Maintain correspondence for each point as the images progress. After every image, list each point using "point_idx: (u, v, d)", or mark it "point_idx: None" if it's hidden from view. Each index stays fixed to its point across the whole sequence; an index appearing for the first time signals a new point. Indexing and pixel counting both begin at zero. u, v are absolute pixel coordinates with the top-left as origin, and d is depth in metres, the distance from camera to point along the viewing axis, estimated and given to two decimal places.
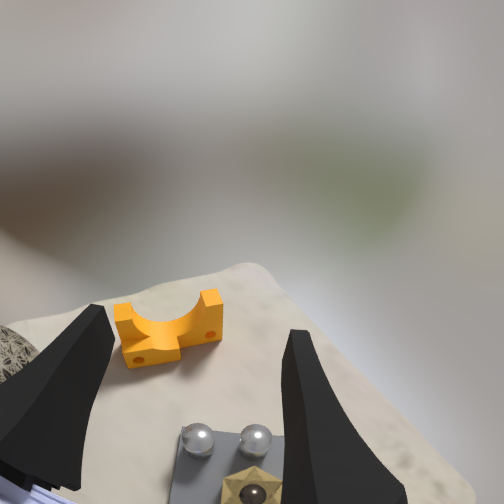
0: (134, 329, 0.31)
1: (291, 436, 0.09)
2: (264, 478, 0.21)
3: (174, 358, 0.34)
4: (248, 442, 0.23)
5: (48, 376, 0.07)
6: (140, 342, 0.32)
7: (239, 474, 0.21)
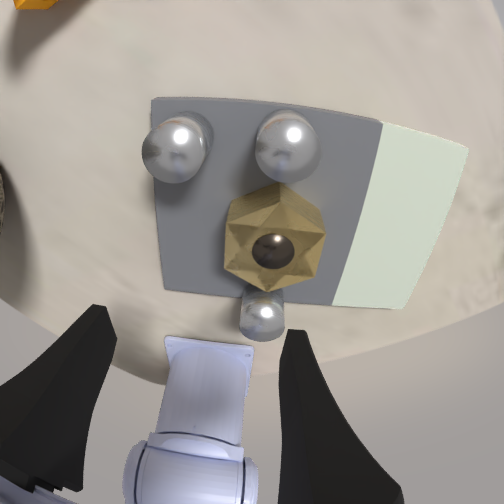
0: None
1: (288, 436, 0.09)
2: (295, 225, 0.15)
3: None
4: (271, 162, 0.13)
5: (50, 376, 0.07)
6: None
7: (253, 216, 0.15)
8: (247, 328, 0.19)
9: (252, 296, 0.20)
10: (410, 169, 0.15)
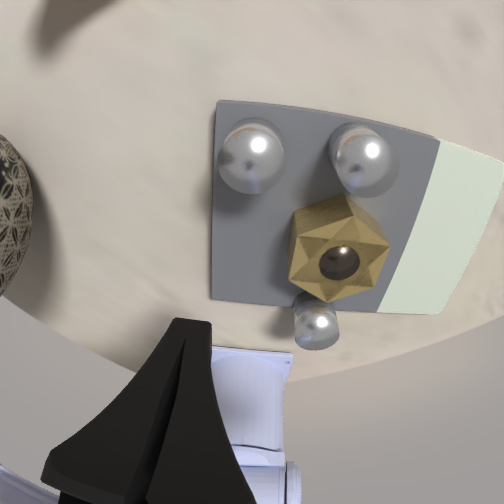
0: None
1: None
2: (364, 238, 0.15)
3: None
4: (353, 177, 0.12)
5: (152, 404, 0.07)
6: None
7: (325, 229, 0.15)
8: (302, 338, 0.19)
9: (307, 306, 0.19)
10: (460, 184, 0.15)
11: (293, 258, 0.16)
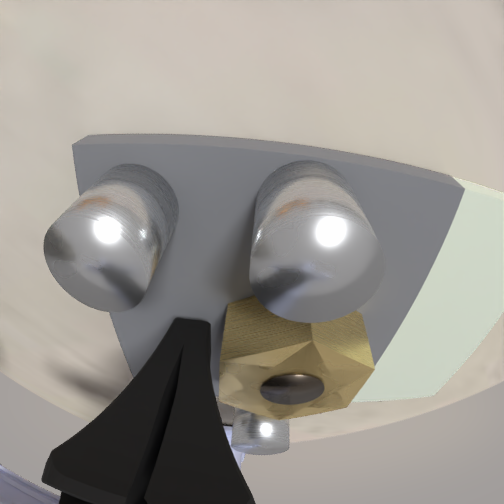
0: None
1: None
2: (331, 364, 0.09)
3: None
4: (282, 292, 0.06)
5: (153, 405, 0.07)
6: None
7: (264, 356, 0.09)
8: (240, 447, 0.13)
9: None
10: (485, 253, 0.09)
11: (220, 382, 0.10)
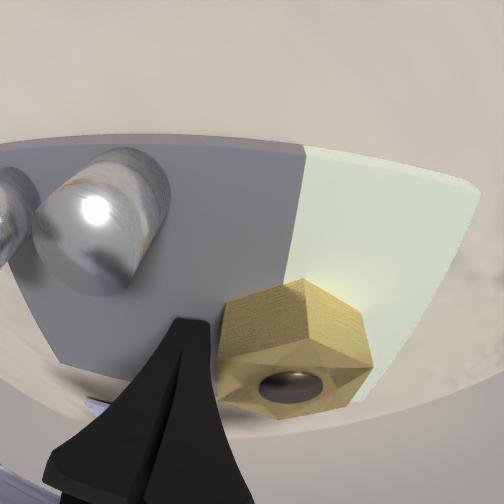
0: None
1: None
2: (329, 362, 0.09)
3: None
4: (62, 265, 0.06)
5: (154, 404, 0.07)
6: None
7: (261, 354, 0.09)
8: None
9: None
10: (367, 236, 0.09)
11: (218, 381, 0.10)
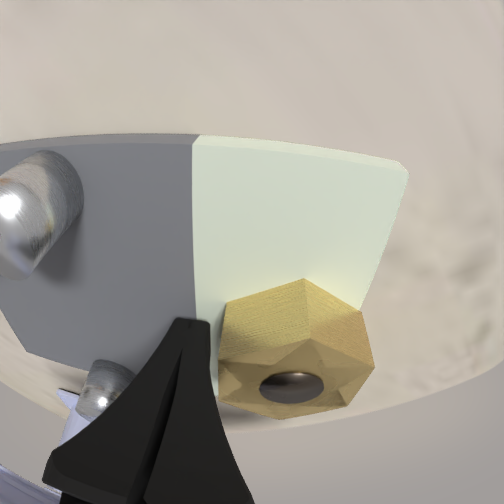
0: None
1: None
2: (329, 362, 0.09)
3: None
4: None
5: (153, 405, 0.07)
6: None
7: (262, 354, 0.09)
8: (86, 416, 0.13)
9: (88, 381, 0.13)
10: (271, 224, 0.09)
11: (219, 382, 0.10)
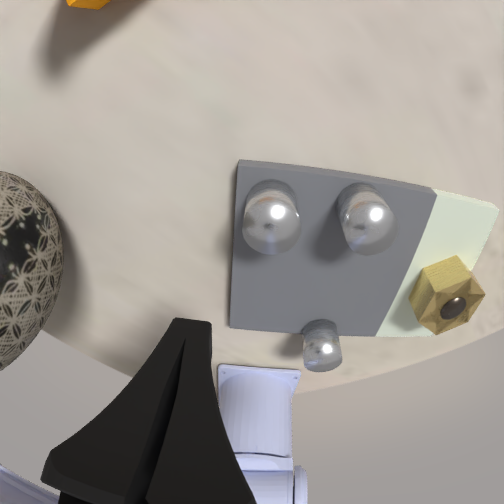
0: None
1: None
2: (472, 291, 0.17)
3: None
4: (358, 240, 0.15)
5: (152, 404, 0.07)
6: None
7: (452, 287, 0.17)
8: (310, 363, 0.21)
9: (314, 335, 0.22)
10: (453, 229, 0.17)
11: (426, 307, 0.18)
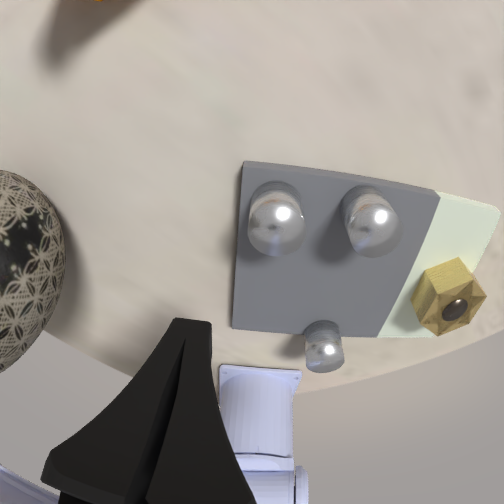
0: None
1: None
2: (474, 293, 0.17)
3: None
4: (362, 242, 0.15)
5: (152, 404, 0.07)
6: None
7: (454, 289, 0.17)
8: (312, 364, 0.21)
9: (317, 336, 0.22)
10: (455, 232, 0.17)
11: (428, 309, 0.18)
